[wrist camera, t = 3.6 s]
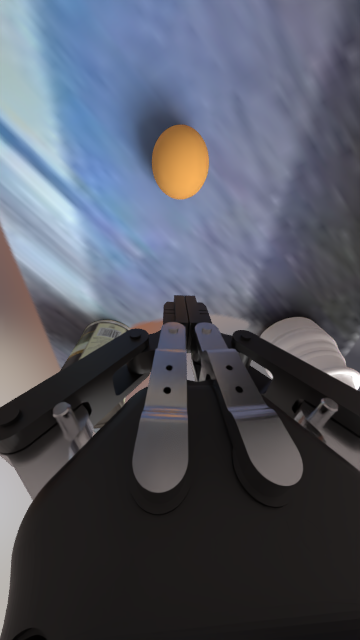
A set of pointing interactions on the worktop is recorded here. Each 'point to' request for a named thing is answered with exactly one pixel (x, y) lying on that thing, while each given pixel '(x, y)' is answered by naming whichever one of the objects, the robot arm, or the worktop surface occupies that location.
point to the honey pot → (311, 347)
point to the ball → (180, 161)
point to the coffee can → (90, 342)
